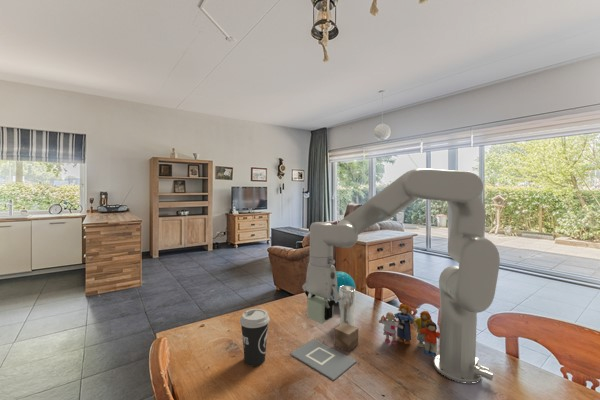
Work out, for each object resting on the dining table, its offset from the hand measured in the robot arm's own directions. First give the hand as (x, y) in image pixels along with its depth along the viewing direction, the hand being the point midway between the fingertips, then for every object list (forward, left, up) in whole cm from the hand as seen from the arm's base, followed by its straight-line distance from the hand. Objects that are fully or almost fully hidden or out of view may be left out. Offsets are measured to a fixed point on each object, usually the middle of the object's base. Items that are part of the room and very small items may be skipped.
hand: (320, 314), depth 90 cm
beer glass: (+6, -24, -14) cm, 29 cm away
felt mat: (-1, 0, -14) cm, 14 cm away
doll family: (-18, -29, -14) cm, 37 cm away
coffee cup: (+14, +16, -14) cm, 26 cm away
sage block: (0, 0, -1) cm, 1 cm away
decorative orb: (+21, -40, -14) cm, 47 cm away
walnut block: (-2, -12, -14) cm, 19 cm away
